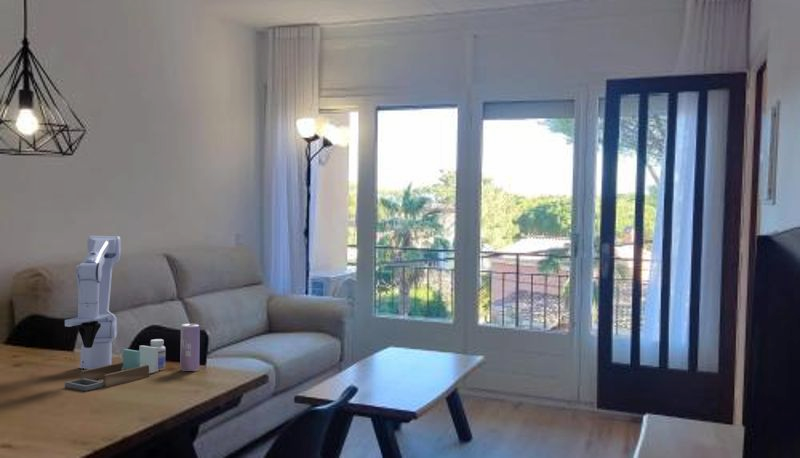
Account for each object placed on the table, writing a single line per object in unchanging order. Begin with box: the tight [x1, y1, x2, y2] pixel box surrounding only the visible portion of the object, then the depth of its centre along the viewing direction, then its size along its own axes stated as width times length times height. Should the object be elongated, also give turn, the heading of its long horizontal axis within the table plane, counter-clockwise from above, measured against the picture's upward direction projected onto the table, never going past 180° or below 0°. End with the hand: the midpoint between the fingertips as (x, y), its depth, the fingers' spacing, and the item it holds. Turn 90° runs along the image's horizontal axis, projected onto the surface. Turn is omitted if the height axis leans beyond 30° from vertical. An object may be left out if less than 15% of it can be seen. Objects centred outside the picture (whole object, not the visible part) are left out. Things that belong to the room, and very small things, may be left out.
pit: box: [64, 378, 105, 393], centre depth 194 cm, size 9×6×2 cm, turn 63°
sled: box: [122, 345, 159, 374], centre depth 212 cm, size 7×8×8 cm
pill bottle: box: [149, 338, 166, 372], centre depth 218 cm, size 5×5×10 cm
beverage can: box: [179, 323, 201, 372], centre depth 218 cm, size 6×6×15 cm
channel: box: [80, 361, 150, 388], centre depth 203 cm, size 11×16×4 cm
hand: (88, 347), depth 200 cm, fingers closed
